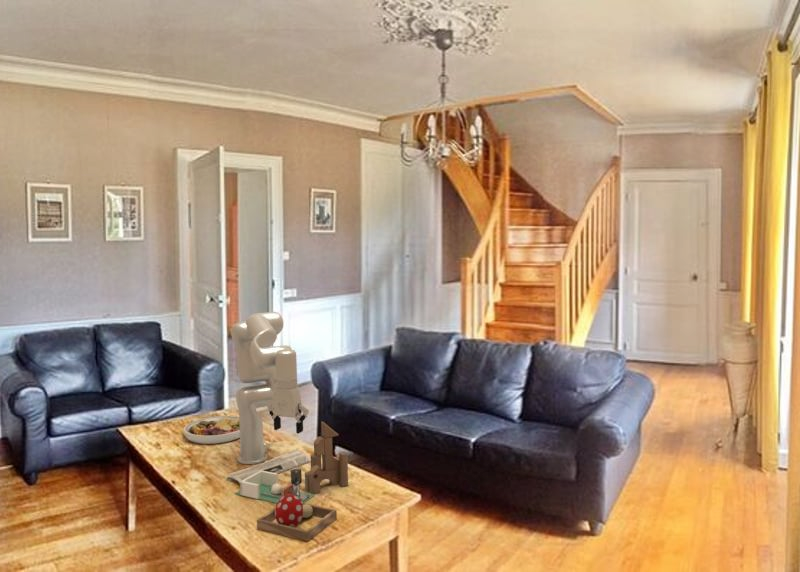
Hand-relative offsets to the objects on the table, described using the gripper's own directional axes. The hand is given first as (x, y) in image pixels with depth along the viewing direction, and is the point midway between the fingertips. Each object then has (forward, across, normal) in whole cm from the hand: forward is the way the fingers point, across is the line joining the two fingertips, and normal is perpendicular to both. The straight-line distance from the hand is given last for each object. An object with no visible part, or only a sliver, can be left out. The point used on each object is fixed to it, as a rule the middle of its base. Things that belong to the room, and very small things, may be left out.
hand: (288, 430), depth 226 cm
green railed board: (+25, -8, 0) cm, 27 cm away
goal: (+25, -15, +1) cm, 29 cm away
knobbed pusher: (+26, +2, 0) cm, 26 cm away
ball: (+23, -7, 0) cm, 24 cm away
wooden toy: (+26, +6, +14) cm, 30 cm away
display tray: (+26, +13, -15) cm, 32 cm away
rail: (+25, -3, 0) cm, 26 cm away
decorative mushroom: (+26, +13, -15) cm, 33 cm away
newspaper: (+26, -24, +20) cm, 41 cm away
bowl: (+25, -74, +44) cm, 90 cm away
